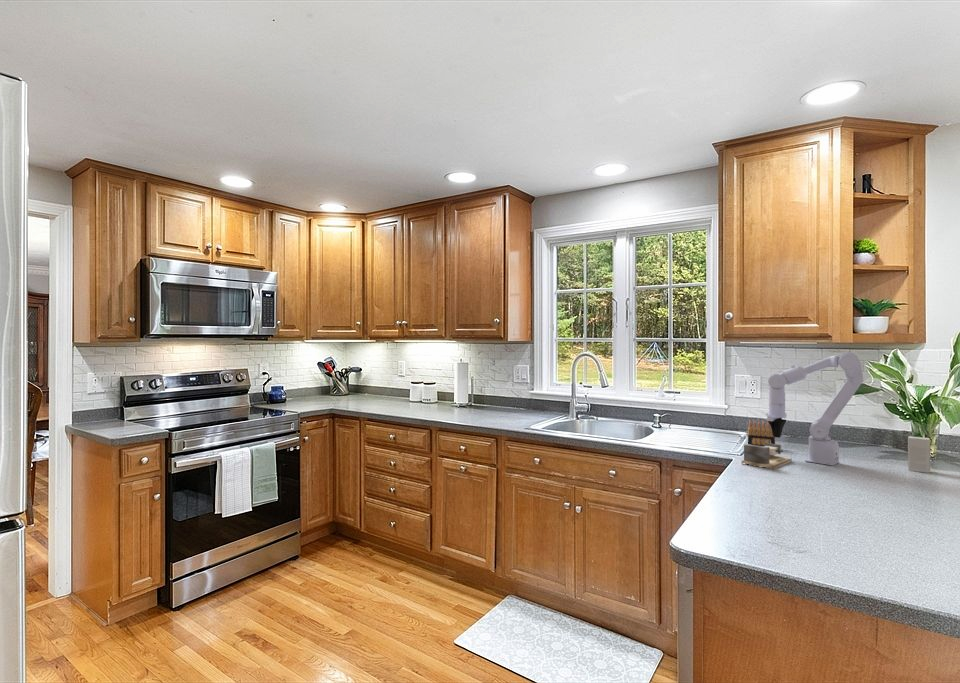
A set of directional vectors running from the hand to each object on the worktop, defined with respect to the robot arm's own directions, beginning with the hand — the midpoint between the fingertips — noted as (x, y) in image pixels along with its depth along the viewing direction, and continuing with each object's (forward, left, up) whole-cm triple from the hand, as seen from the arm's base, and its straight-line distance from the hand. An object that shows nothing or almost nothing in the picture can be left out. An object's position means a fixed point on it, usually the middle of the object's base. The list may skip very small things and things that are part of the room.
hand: (776, 437), depth 209 cm
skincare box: (-42, -15, -8) cm, 45 cm away
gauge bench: (-1, +13, -8) cm, 15 cm away
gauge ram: (-1, +8, -6) cm, 10 cm away
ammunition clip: (+12, -16, -8) cm, 21 cm away
